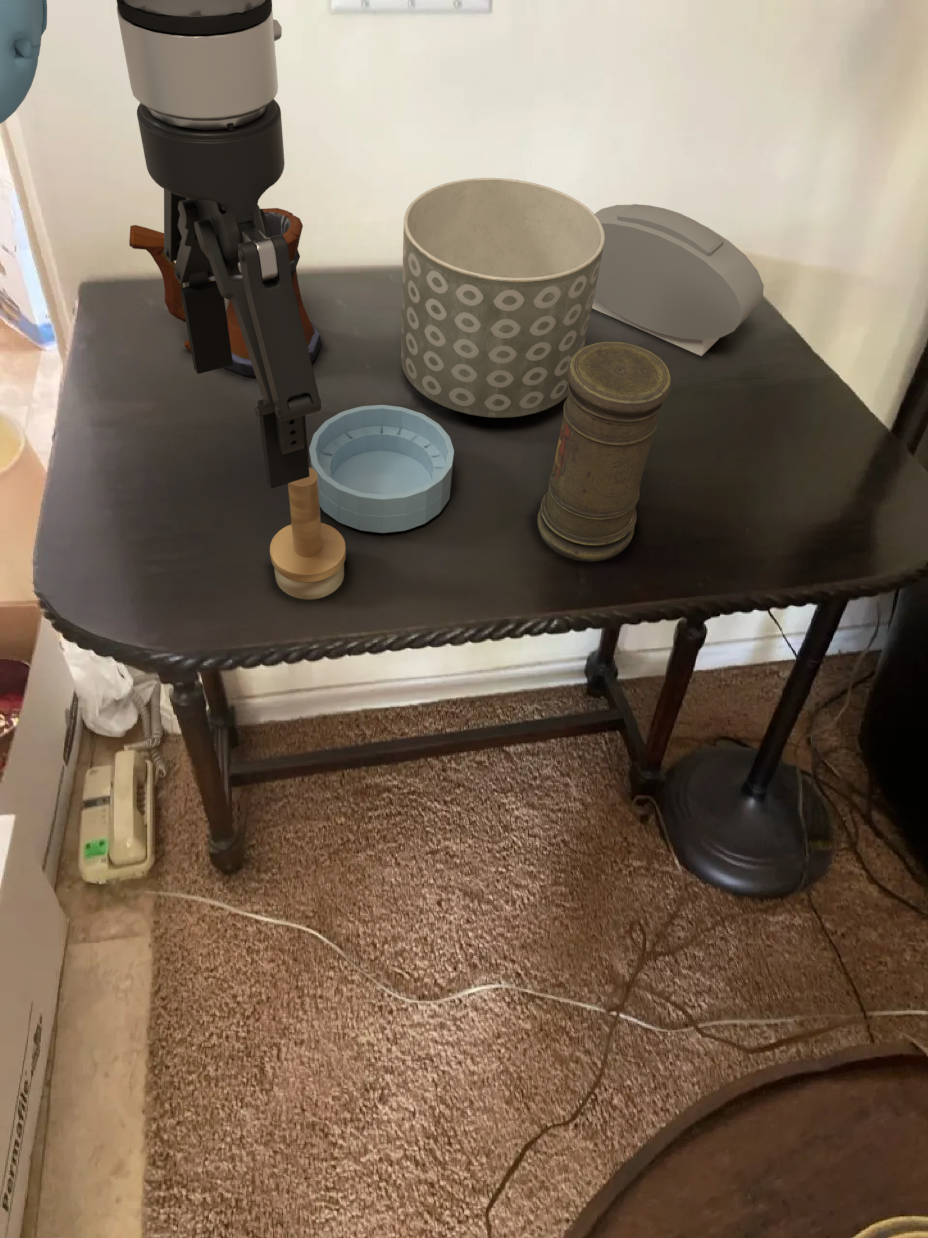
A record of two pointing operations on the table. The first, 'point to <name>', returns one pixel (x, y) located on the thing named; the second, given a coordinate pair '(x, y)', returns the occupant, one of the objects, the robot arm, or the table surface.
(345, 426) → the bowl
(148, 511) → the table surface
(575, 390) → the container
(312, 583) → the brush
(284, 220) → the mug
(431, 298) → the planter
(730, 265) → the alarm clock
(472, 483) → the table surface
